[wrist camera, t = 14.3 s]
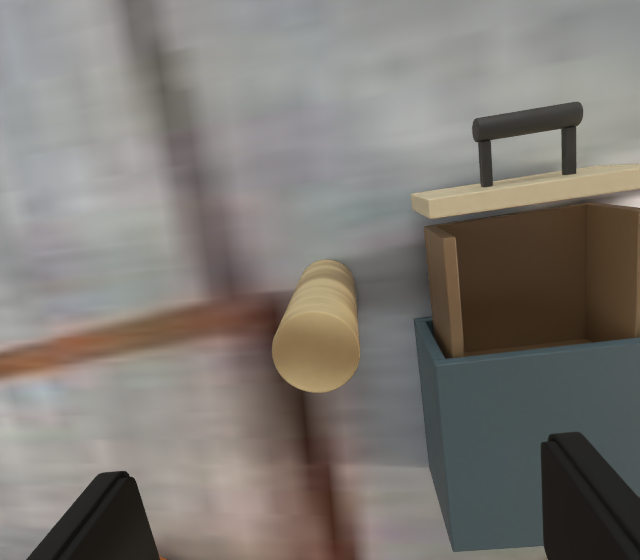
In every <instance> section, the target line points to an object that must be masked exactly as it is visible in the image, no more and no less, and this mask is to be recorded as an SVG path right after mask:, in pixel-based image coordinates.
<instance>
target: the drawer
mask: <svg viewBox="0 0 640 560" xmlns="http://www.w3.org/2000/svg"><path fill="white" fill-rule="evenodd" d="M582 117H583V108H582V105H581V103H580V102H572V103H566V104H560V105H554V106H548V107H542V108H536V109H530V110H524V111H518V112H512V113H506V114H500V115H494V116H488V117H482V118H476V119H474V121H473V126H472V133H473V138H474V140H475V142H479V143H478V146H479V163H480V180H481V183H479V184H472V185H466V186H459V187H452V188H446V189H439V190H433V191H426V192H419V193H413V194H411V203H412V209H413V210H414V211H416V212H418V213H420V214H422V215H424V216H425V217H427V218H429V219H435V218H442V217H449V216H455V215H462V214H469V213H476V212H483V211H490V210H497V209H504V208H511V207H518V206H524V205H531V204H538V203H545V202H552V201H559V200H566V199H573V198H580V197H587V196H593V195H600V194H607V193H614V192H621V191H628V190H635V189H640V164H622V165H598V166H591V167H584V168H578V169H576V126H578V125H579V124H580V123H581V121H582ZM562 128H563V129H562ZM556 129H562V130H561V131H562V171H558V172H551V173H545V174H538V175H532V176H525V177H518V178H512V179H505V180H499V181H493V178H492V158H491V141H490V140H494V139H500V138H506V137H513V136H519V135H525V134H531V133H537V132H544V131H550V130H556ZM424 233H425V244H426V255H427V265H428V276H429V287H430V297H431V308H432V319H433V330H434V339H435V341H436V343H437V344H438V346H439V348H440V350H441V352H442V354H443V356H444V358H445V359H450V358H459V357H468V356H477V355H486V354H495V353H504V352H513V351H522V350H531V349H540V348H549V347H558V346H567V345H576V344H585V343H594V342H603V341H612V340H621V339H630V338H639V337H640V208H636V207H627V206H618V205H610V204H601V203H593V202H589V203H582V204H575V205H568V206H561V207H554V208H547V209H540V210H533V211H526V212H519V213H512V214H505V215H498V216H491V217H485V218H478V219H471V220H464V221H457V222H450V223H443V224H436V225H429V226H424Z"/></svg>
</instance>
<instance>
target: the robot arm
mask: <svg viewBox="0 0 640 560" xmlns="http://www.w3.org/2000/svg"><path fill="white" fill-rule="evenodd" d="M541 479H542V513H543V542H544V548H545V552H546V555H547V558H548V560H640V497H638V496H637V495H636V494H635V493H634V492H633V490H632V489H631V488H630V487H629V486H628V485H627V484H626V483H625V481H624V480H623V479H622V478H621V477H620V476H619V475H618V474H617V472H616V471H615V470H614V469H613V468H612V467H611V466H610V465H609V463H608V462H607V461H606V460H605V459H604V458H603V457H602V456H601V454H600V453H599V452H598V451H597V450H596V449H595V448H594V447H593V445H592V444H591V443H590V442H589V441H588V440H587V439H586V437H585V436H584V435H583V434H581V433H580V432H566V433H555V434H550V435H549V437H548V441H546V442H542V443H541ZM26 560H160V558H159V554H158V551H157V548H156V545H155V541H154V538H153V535H152V532H151V529H150V525H149V522H148V519H147V516H146V512H145V509H144V506H143V503H142V499H141V496H140V493H139V490H138V486H137V483H136V481H135V479H134V478H133V477H130V476H129V474H128V473H127V472H126V471H117V472H105V473H101V474H98V475H97V476H96V477H95V478H94V480H93V481H92V482H91V483H90V484H89V485H88V487H87V488H86V489H85V490H84V491H83V493H82V494H81V495H80V496H79V497H78V499H77V500H76V501H75V502H74V503H73V505H72V506H71V507H70V508H69V509H68V511H67V512H66V513H65V514H64V515H63V517H62V518H61V519H60V520H59V521H58V522H57V524H56V525H55V526H54V527H53V528H52V530H51V531H50V532H49V533H48V534H47V536H46V537H45V538H44V539H43V540H42V542H41V543H40V544H39V545H38V546H37V548H36V549H35V550H34V551H33V552H32V554H31V555H30V556H29V557H28V558H27V559H26Z"/></svg>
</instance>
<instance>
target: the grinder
mask: <svg viewBox="0 0 640 560" xmlns="http://www.w3.org/2000/svg"><path fill="white" fill-rule="evenodd" d="M272 357H273V361H274V364H275V366H276V369H277V370H278V372H279V373H280V375H281V376H282V377H283V378H284V379H285V380H286V381H287V382H288V383H289V384H291V385H292V386H294V387H296V388H298V389H300V390H303V391H307V392H314V393H321V392H328V391H331V390H334V389H336V388H338V387H340V386H342V385H343V384H345V383H346V382H347V381H348V380H349V379H350V378H351V377H352V376H353V374H354V373H355V371H356V369H357V367H358V364H359V360H360V343H359V329H358V316H357V303H356V289H355V281H354V278H353V275H352V273H351V272H350V270H349V269H348V268H347V267H346V266H344V265H343V264H341V263H339V262H337V261H334V260H320V261H317V262H314V263H312V264H311V265H310V266H308V267H307V268H306V269H305V271H304V272H303V274H302V276H301V278H300V280H299V283H298V285H297V287H296V289H295V292H294V294H293V296H292V298H291V301H290V303H289V305H288V307H287V310H286V312H285V314H284V316H283V319H282V321H281V323H280V325H279V327H278V330H277V332H276V334H275V336H274V340H273V344H272Z"/></svg>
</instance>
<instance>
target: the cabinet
mask: <svg viewBox="0 0 640 560" xmlns="http://www.w3.org/2000/svg"><path fill="white" fill-rule="evenodd" d="M414 325H415V334H416V344H417V353H418V363H419V373H420V382H421V392H422V401H423V411H424V420H425V430H426V439H427V449H428V459H429V468H430V472H431V475H432V479H433V483H434V486H435V490H436V493H437V497H438V500H439V504H440V508H441V511H442V515H443V518H444V522H445V525H446V529H447V532H448V536H449V540H450V543H451V547H452V550H453V552H458V551H474V550H489V549H504V548H519V547H534V546H544V542H543V513H542V479H541V443H542V442H546V441H548V437H549V435H550V434H555V433H566V432H580V433H581V434H583V435H584V436H585V437H586V439H587V440H588V441H589V442H590V443H591V444H592V445H593V447H594V448H595V449H596V450H597V451H598V452H599V453H600V454H601V456H602V457H603V458H604V459H605V460H606V461H607V462H608V463H609V465H610V466H611V467H612V468H613V469H614V470H615V471H616V472H617V474H618V475H619V476H620V477H621V478H622V479H623V480H624V481H625V483H626V484H627V485H628V486H629V487H630V488H631V489H632V490H633V492H634V493H635V494H636V495H637V496H638V497H640V337H639V338H630V339H621V340H612V341H603V342H594V343H585V344H576V345H567V346H558V347H549V348H540V349H531V350H522V351H513V352H504V353H495V354H486V355H477V356H468V357H459V358H450V359H445V358H444V356H443V354H442V352H441V350H440V348H439V346H438V344H437V343H436V341H435V339H434V330H433V319H432V317H426V318H418V319H414Z"/></svg>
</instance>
